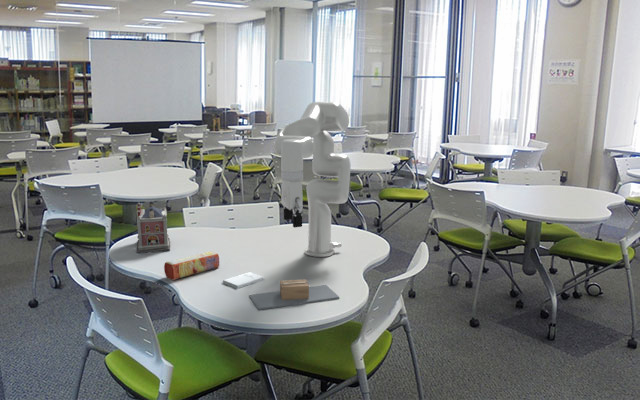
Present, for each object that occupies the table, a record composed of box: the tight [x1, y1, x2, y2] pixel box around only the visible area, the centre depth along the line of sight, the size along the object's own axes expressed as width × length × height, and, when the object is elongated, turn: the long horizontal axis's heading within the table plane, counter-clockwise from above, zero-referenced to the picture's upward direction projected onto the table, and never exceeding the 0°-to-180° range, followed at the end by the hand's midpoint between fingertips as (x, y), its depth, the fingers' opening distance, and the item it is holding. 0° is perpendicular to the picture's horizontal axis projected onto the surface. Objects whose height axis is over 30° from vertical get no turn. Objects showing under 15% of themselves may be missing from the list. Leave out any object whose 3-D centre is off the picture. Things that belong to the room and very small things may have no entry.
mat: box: [249, 284, 340, 311], centre depth 187 cm, size 28×12×1 cm, turn 111°
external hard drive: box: [222, 271, 265, 289], centre depth 201 cm, size 2×8×12 cm
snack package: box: [163, 251, 220, 281], centre depth 209 cm, size 21×7×7 cm, turn 137°
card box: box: [279, 279, 310, 300], centre depth 186 cm, size 6×9×5 cm, turn 100°
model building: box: [135, 201, 171, 254], centre depth 240 cm, size 19×14×20 cm
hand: (292, 223), depth 194 cm, fingers open, 9 cm apart
